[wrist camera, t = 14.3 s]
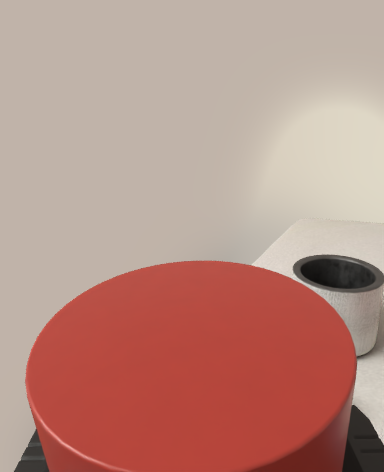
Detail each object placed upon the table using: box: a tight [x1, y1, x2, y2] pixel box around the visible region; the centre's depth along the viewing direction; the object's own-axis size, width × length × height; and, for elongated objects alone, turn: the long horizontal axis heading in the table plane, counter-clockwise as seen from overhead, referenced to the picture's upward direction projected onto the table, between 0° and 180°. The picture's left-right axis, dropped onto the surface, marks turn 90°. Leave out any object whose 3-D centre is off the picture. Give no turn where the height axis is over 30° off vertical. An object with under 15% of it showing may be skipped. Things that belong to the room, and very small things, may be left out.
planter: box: [292, 255, 384, 356], centre depth 49 cm, size 12×13×11 cm
